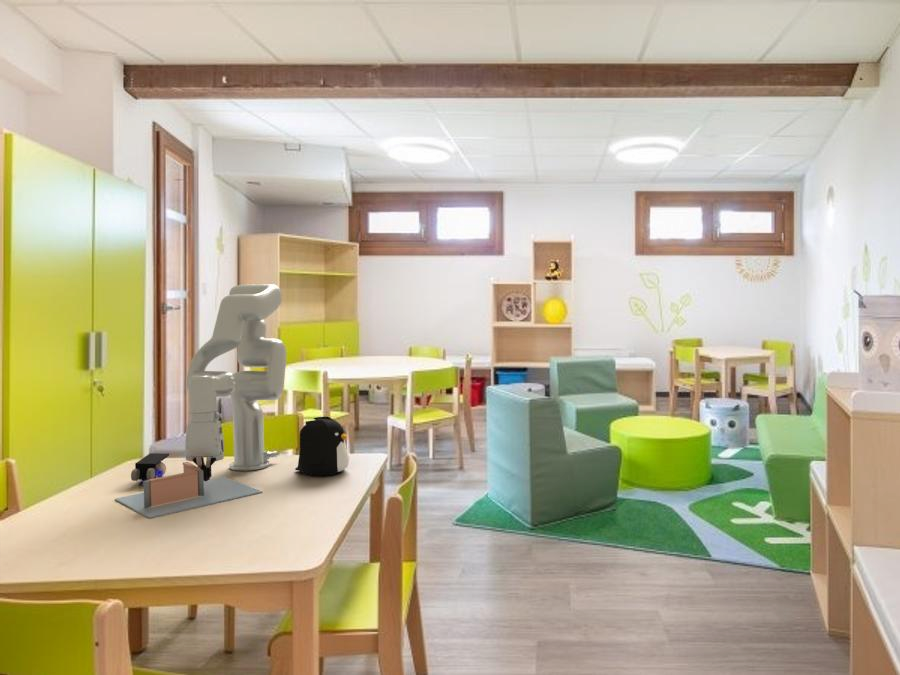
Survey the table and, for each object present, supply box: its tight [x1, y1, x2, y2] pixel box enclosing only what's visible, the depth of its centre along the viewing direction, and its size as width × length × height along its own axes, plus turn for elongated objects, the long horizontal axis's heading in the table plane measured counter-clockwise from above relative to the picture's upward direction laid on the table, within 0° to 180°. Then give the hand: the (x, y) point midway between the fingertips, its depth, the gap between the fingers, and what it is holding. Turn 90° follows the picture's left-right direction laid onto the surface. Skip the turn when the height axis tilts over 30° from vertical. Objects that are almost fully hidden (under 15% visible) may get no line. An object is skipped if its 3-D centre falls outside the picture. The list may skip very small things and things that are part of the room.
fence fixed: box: [142, 470, 204, 508], centre depth 194 cm, size 16×2×8 cm, turn 134°
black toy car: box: [130, 452, 170, 487], centre depth 217 cm, size 7×8×15 cm
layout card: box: [114, 476, 263, 519], centre depth 200 cm, size 32×24×1 cm
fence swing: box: [182, 461, 202, 473], centre depth 205 cm, size 12×2×7 cm, turn 38°
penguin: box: [295, 416, 350, 477], centre depth 225 cm, size 18×18×17 cm
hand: (205, 480), depth 206 cm, fingers closed
